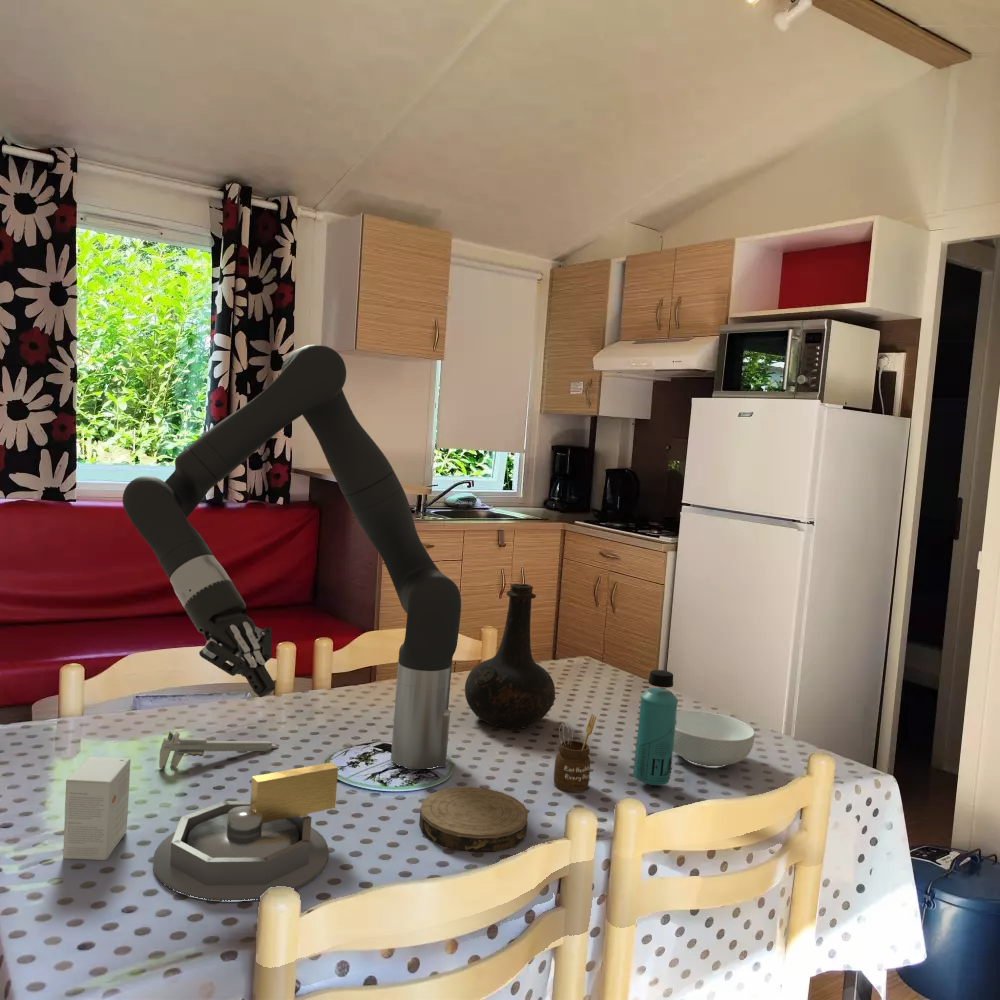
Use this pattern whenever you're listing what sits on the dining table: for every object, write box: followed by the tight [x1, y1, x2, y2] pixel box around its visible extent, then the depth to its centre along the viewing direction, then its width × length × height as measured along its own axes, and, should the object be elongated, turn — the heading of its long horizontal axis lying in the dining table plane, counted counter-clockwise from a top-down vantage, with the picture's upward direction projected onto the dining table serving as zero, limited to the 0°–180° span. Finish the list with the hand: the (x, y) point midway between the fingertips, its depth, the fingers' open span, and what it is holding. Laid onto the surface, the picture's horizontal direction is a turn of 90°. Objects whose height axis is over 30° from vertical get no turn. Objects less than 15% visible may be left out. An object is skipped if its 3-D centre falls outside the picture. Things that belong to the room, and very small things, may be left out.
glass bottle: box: [464, 583, 556, 730], centre depth 178 cm, size 18×18×28 cm
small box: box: [62, 756, 131, 861], centre depth 117 cm, size 8×6×10 cm
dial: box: [187, 762, 339, 858], centre depth 118 cm, size 20×14×9 cm
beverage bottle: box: [633, 669, 679, 786], centre depth 151 cm, size 6×7×20 cm
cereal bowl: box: [673, 710, 756, 766], centre depth 167 cm, size 17×17×7 cm
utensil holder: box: [553, 713, 597, 793], centre depth 149 cm, size 6×6×12 cm
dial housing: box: [152, 800, 329, 901], centre depth 117 cm, size 22×22×4 cm
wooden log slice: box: [418, 786, 529, 854], centre depth 131 cm, size 16×16×3 cm
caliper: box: [159, 731, 279, 771], centre depth 148 cm, size 20×1×6 cm, turn 132°
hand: (268, 693), depth 125 cm, fingers closed
